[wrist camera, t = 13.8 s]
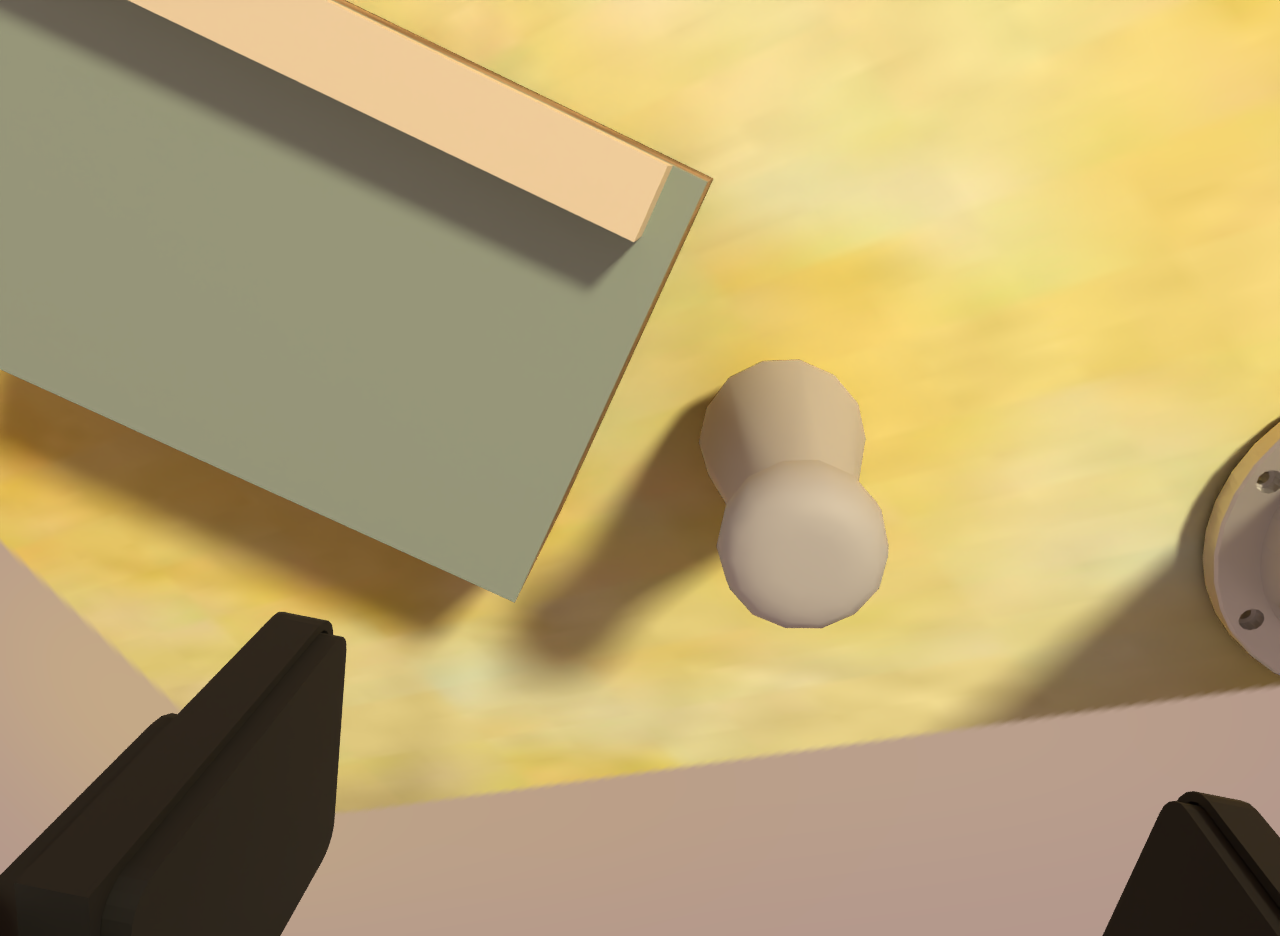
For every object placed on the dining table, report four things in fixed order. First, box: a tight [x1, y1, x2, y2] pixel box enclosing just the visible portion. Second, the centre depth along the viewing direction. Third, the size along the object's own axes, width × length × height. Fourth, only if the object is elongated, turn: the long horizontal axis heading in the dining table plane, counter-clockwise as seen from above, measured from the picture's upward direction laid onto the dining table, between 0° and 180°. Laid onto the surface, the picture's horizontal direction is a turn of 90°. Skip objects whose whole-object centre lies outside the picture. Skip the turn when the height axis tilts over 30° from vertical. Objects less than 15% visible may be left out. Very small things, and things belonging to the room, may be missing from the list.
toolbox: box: [334, 0, 713, 581], centre depth 30 cm, size 20×14×7 cm
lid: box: [0, 0, 708, 602], centre depth 25 cm, size 20×14×3 cm
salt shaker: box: [699, 359, 888, 628], centre depth 28 cm, size 6×6×13 cm
